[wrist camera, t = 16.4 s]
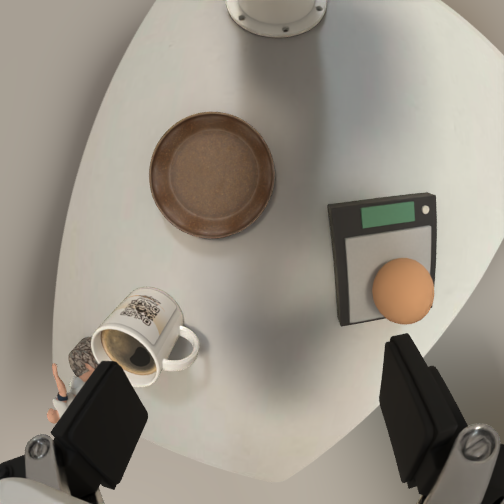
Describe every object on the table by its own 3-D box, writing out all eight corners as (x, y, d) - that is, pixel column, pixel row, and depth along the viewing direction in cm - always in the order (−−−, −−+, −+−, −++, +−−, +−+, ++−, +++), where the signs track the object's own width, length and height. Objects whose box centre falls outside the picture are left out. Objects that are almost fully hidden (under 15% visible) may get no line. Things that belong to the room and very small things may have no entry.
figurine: (77, 318, 44) (18, 379, 27) (118, 335, 44) (64, 408, 28) (83, 372, 49) (40, 431, 32) (119, 389, 49) (81, 454, 33)
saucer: (211, 91, 31) (206, 86, 29) (300, 173, 34) (302, 175, 31) (136, 178, 36) (127, 180, 33) (217, 255, 38) (212, 262, 36)
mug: (153, 270, 40) (117, 309, 29) (210, 330, 42) (192, 381, 32) (114, 307, 43) (79, 346, 32) (166, 359, 45) (143, 405, 35)
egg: (404, 237, 32) (436, 262, 24) (424, 282, 34) (453, 314, 26) (355, 269, 34) (375, 303, 26) (378, 312, 35) (399, 351, 27)
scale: (327, 204, 35) (331, 209, 32) (427, 192, 33) (438, 196, 30) (337, 317, 40) (341, 329, 37) (425, 299, 38) (433, 310, 35)
